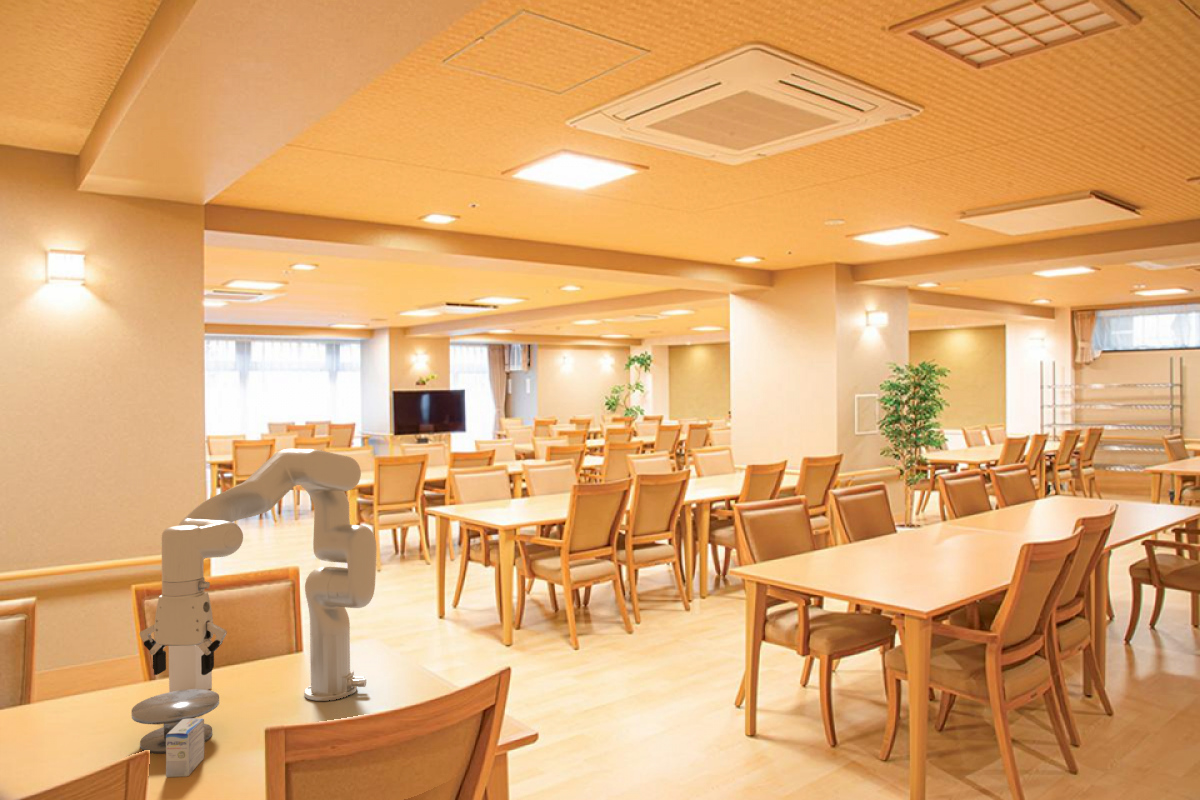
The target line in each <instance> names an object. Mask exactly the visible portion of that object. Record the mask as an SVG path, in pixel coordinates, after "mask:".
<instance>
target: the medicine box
mask: <svg viewBox="0 0 1200 800" xmlns="http://www.w3.org/2000/svg"><path fill="white" fill-rule="evenodd" d="M204 724H205V718H199V717H196V718H191V719H182V720H181V721H180V722H179V723H178V724H177V725H176V726H175V727H174V728H173V729H172V730H171V731H170V732H168V733H167V734H166V754H165V776H166V778H182V777H185V778H186V777H189V776H190V775H191V774H192V772H193V771H195V769H196V768H197V767H198V766H199V765H200V764H201V762H203V760H204V759H205V743H204Z"/></svg>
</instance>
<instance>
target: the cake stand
mask: <svg viewBox="0 0 1200 800" xmlns="http://www.w3.org/2000/svg"><path fill="white" fill-rule="evenodd" d="M219 704H220V694H219V693H217V692H216V691H214V690H210V689H209V690H202V689H192V690H181V691H174V692H165V693H161V694H158V695H154V696H152V697H151V696H150V697H148V698H146V699H143V700H141V701H140V702H138V703H136V704H135V705H134V706H133V707H132V708H131V719H132V721H134V722H136V723H139V724H144V725H163V727H160V728H157V729H154V730H152V731H150V732H148V733H146V734H145V735H144V736H143V737H142V738H141V739H140V742H139V748H140V750H141V749H142V750H141V751H142V752H144V750H150V753H149V754H152V753H153V754H154V755H157V754H158V755H163V754H164V755H166V734H167V733H168V732H170V731H171V730H172V729H173V728H174V727H175V726H176V725H177V724H178V723H179V722H180V721H181V720H182V719H191V718H199V717H202V716H204V715H206V714H209V713H210V712H212V711H213V710H216V708H217V707H218V706H219ZM212 736H213V727H212V726H211V725H210V724H207V723H204V744H205V743H207V742H208V741H209V740H211V738H212ZM153 754H152V755H153Z"/></svg>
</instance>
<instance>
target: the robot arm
mask: <svg viewBox="0 0 1200 800" xmlns="http://www.w3.org/2000/svg"><path fill="white" fill-rule="evenodd" d="M361 475H362V471H361V466H360V465H359V463H358V462H357V460H356V459H354V458H353V457H351V456H348V455H342V454H338V453H333V452H329V451H326V450H325V451H324V450H319V449H313V448H286V449H281V450H279V451H277V452H275V453H274V454H273V455H271V456H270V458H269V459H267V460H266V461H265V462H264V463H262V465H261V466H260V467H258V469H257V470H256V471H254V472H253V473H252V474H251V475H249V477H247V478H246V480H244V481H243V482H242V483H240V484H238V485H235V486H233V487H230V488H229V489H226V490H225V491H223V492H220V493H219V494H216V495H215V496H212V497H210V498H208V499H207V500H205V501H204V502H202V503H200V504H198V505H197V506H196V507H195V508H193V510H192V511H191V512H189V513H188V514H187V515H186V516H185V517H184V518H183V519H182V520H181V521H180V522H179V524H177V525H175V526H174V525H173V526H169V527H167V528H165V529H164V530H163V531H162V533H161V595H159V596H158V599H157V603H156V609H155V615H154V624H152V625H151V626H149V627H147V628H145V629H143V630H141V631H140V632H139V636H140V638H141V640H142V642H143V646H144V647H145V648H146V649H147V650H148V651H149V655H151V656H152V669H153V676H158V675H160V674H161V673H163V672H165V671H166V669H167V652H166V650H164V649H165V648H166V647H167V646H168V647H169V646H196V645H198V647H199V648H200V649H201V650H202V651H203V653H204V655H202V656H201V674H202V675H206V674H208V673H209V672H211V671H213V670H214V667H215V651H216V650H218V648H219V647H220V646H221V645H223V641H224V639H225V638H226V636H227V633H228V631H227V630H226V629H225V628H222V627H221V626H219V625H217V624H215V623H214V618H213V611H212V610H213V609H212V604H211V599H210V595H209V592H207V591H205V590H206V589H207V590H208V589H210V587H211V583H210V582H209V581H205V580H206V579H205V577H204V576H205V575H204V573H205V572H204V570H205V569H204V567H205V566H204V561H205V559H207V558H208V559H209V558H210V559H212V558H223V557H224V558H225V557H228V556H230V555H233V554H234V553H236V552H237V551H238V550H239V549H240V548H241V546H242V544H243V541H244V534H243V530H242V529H241V527H240V526H239V525H237V524H236V523H235V522H236V521H239V520H244V519H247V518H252V517H255V516H259V515H261V514H262V515H263V514H265V513H267V512H270V510H272V509H273V508H274V507H275V506H276V505H277V504H278V503H279V502H280V501H281V500H282V499H283V498H284V497H285V496H286V495H287V494H288V493H289V492H290V491H291V490H292V489H293V488H294V487H296V486H300V487H302V488H303V490H305V491H306V492H307V494H308V495H309V497H310V499H311V501H312V504H313V513H314V516H313V518H314V519H313V544H312V545H313V554H314V556H315V557H316V558H317V559H318V560H319V561H324V562H329V563H330V562H331V563H344V564H347V567H342V566H341V567H340V566H339V567H338V566H320V567H317V568H314V569H313V570H312V571H311V572H310V573H309V574H308V575H307V577H306V580H305V583H304V593H305V598H306V603H307V607H308V613H309V641H310V642H309V643H310V644H309V646H310V647H309V649H310V650H309V651H310V652H309V653H310V654H309V655H310V656H309V658H310V659H309V661H310V662H309V663H310V685H308V686H307V687H306V688H305V689H304V693H303V694H304V695H303V696H304V697H305V698H306V699H308V700H309V701H317V702H327V701H329V700H330V701H336V699H337V700H340V698H341V699H344V698H347V697H349V696H348V695H350V694H351V695H353V694H354V693H355V692H356V691H357V690H356V689H358V688H366V686H367V679H366V677H365V676H356V675H355V671H354V670H351V648H350V647H351V645H350V643H351V640H350V639H351V637H350V635H351V633H350V628H351V626H350V617H349V614H348V611H347V609H348V608H350V609H361V608H364V607H367V606H368V605H369V604H370V603H371V601H372V599H373V597H374V594H375V588H376V575H377V573H376V570H377V541H376V537H375V534H374V532H373V531H372V530H371V528H369V527H367V526H366V525H362V524H351V522H350V521H351V520H350V502H349V498H348V497H347V493H346V492H348V491H351V490H353V489H355V488H356V487H357V486H358V484H359V483H360V480H361V477H362V476H361ZM346 608H347V609H346ZM152 633H154V638H152ZM214 636H215V638H214ZM213 638H214V641H213V640H212V639H213ZM351 695H350V696H351ZM346 696H347V697H346ZM343 697H344V698H343ZM330 701H329V702H330Z"/></svg>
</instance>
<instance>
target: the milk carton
mask: <svg viewBox="0 0 1200 800" xmlns="http://www.w3.org/2000/svg"><path fill="white" fill-rule="evenodd" d="M202 655H204V653H203V651H202V650H201V649H200V648H199V647H198V645H196V646H168V684H169V685H168V686H169V687H168V688H169V689H168V691H169V692H174V691H181V690H192V689H202V690H210V689H212V687H213V682H212V681H213V675H212V674H213V673H212V671H213V670H212V671H211V672H209V673H208V674H206V675H202V674H201V656H202ZM169 692H168V693H169Z"/></svg>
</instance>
